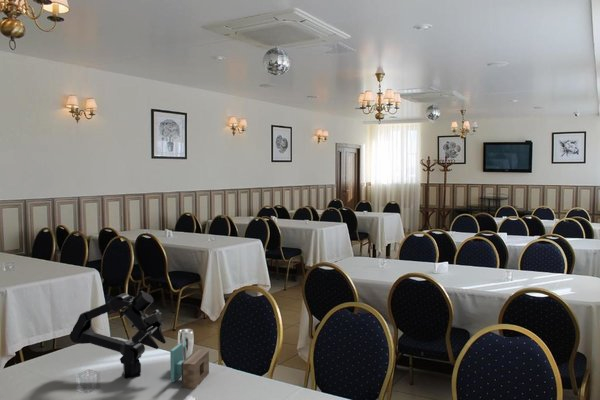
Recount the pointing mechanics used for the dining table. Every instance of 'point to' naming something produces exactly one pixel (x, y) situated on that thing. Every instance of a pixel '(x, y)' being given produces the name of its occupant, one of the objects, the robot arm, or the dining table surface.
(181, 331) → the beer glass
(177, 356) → the teal fan slab
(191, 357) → the block
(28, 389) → the dining table surface
